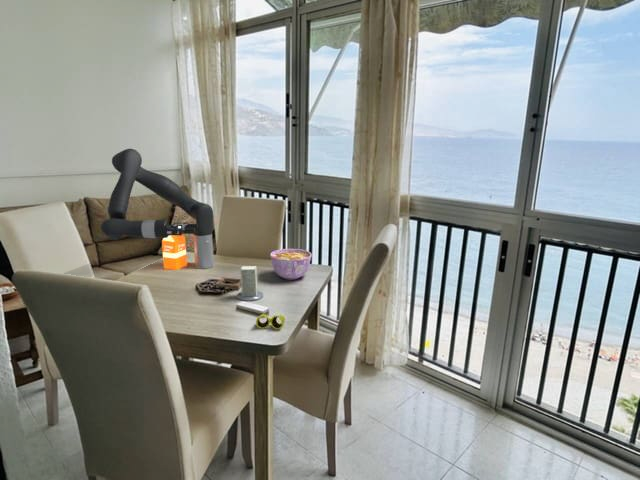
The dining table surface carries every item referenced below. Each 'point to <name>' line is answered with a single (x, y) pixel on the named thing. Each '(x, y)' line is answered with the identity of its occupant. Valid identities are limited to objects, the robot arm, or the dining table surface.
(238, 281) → the pocket block
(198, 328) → the dining table surface
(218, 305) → the dining table surface
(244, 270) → the skincare box
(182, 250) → the orange juice
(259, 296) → the slate coaster
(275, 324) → the opera glasses
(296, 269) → the bowl of food
